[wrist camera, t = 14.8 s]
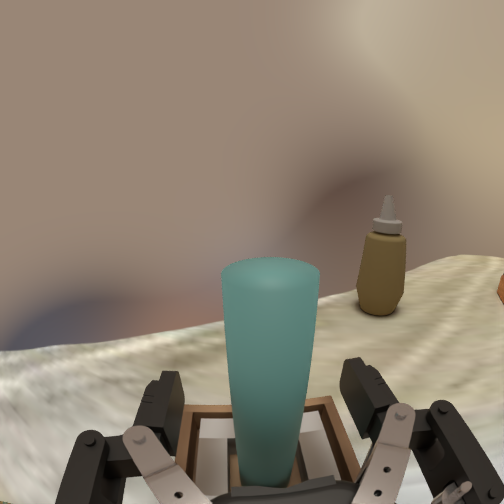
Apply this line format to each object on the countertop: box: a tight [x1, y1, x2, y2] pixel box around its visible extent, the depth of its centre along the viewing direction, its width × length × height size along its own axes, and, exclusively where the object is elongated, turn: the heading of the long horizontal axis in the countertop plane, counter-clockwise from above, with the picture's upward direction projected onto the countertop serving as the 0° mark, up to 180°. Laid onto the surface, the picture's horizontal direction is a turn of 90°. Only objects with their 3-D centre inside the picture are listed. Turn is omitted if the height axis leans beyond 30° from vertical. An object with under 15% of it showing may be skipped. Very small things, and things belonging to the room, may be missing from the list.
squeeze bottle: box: [356, 196, 406, 315], centre depth 38 cm, size 8×8×18 cm
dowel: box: [221, 257, 320, 488], centre depth 12 cm, size 4×4×16 cm
